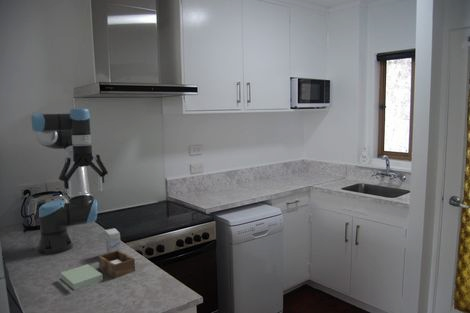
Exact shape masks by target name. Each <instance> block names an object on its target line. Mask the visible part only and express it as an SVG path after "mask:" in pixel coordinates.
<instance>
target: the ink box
mask: <svg viewBox="0 0 470 313" xmlns="http://www.w3.org/2000/svg"><path fill="white" fill-rule="evenodd" d="M104 233H105V244H106V245H105V246H106V254H107V253H111V252H114V251H117V250H119V251H121V252H122V245H121V242H122V241H121V233H120V232H119V231H118V230H117V229H116V228H114V227H113V228H109V229H105V230H104Z"/></svg>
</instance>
